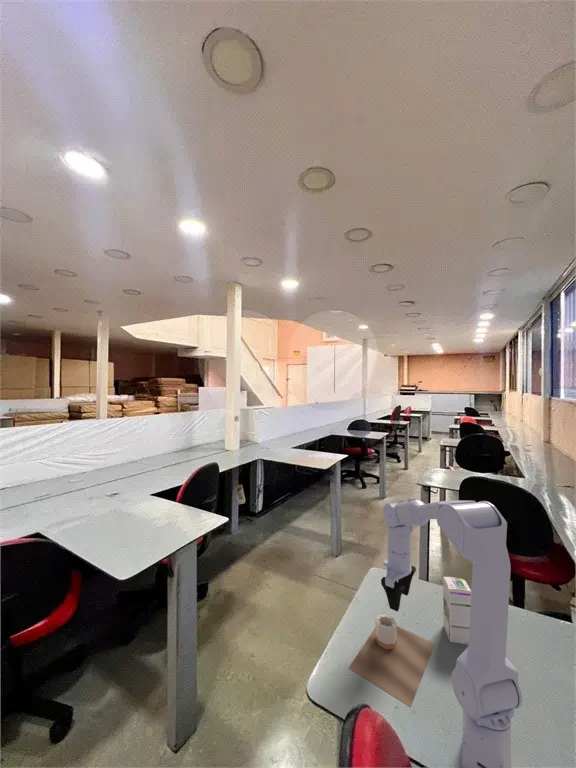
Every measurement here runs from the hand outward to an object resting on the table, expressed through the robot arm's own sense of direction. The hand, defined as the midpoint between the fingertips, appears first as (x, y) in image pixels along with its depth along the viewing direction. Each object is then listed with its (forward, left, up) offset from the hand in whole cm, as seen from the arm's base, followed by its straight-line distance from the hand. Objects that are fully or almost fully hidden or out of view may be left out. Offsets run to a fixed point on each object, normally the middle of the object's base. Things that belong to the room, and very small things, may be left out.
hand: (399, 601), depth 81 cm
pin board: (-7, -1, -10) cm, 12 cm away
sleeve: (-4, +2, -9) cm, 10 cm away
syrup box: (+10, -12, -10) cm, 19 cm away
